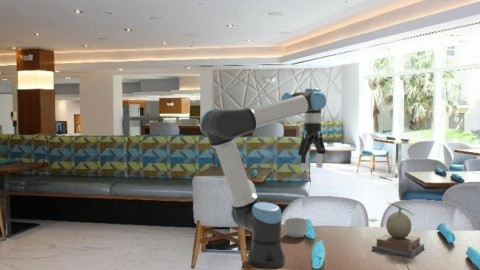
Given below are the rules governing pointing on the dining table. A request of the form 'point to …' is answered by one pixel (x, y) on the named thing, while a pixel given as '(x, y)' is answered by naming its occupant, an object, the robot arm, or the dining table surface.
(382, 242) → the stand
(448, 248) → the dining table surface
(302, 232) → the teacup
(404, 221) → the fruit
